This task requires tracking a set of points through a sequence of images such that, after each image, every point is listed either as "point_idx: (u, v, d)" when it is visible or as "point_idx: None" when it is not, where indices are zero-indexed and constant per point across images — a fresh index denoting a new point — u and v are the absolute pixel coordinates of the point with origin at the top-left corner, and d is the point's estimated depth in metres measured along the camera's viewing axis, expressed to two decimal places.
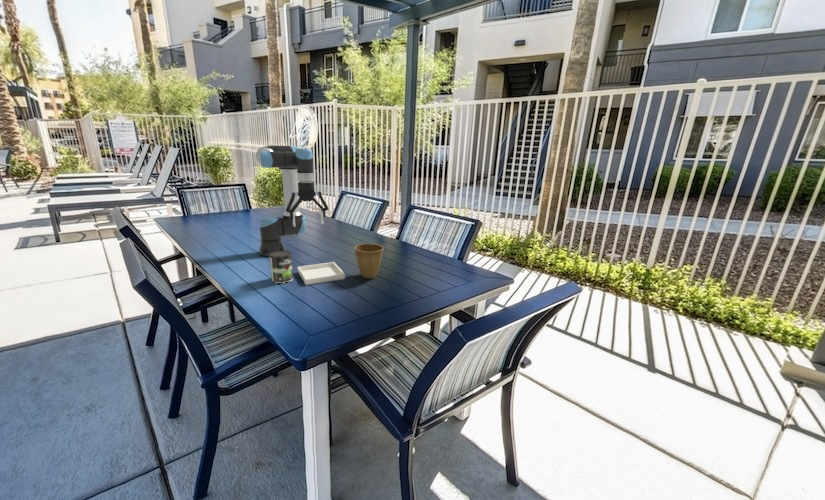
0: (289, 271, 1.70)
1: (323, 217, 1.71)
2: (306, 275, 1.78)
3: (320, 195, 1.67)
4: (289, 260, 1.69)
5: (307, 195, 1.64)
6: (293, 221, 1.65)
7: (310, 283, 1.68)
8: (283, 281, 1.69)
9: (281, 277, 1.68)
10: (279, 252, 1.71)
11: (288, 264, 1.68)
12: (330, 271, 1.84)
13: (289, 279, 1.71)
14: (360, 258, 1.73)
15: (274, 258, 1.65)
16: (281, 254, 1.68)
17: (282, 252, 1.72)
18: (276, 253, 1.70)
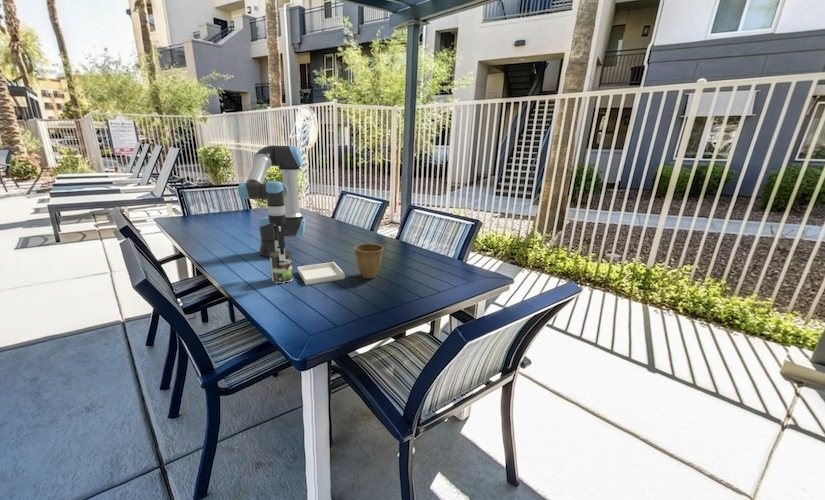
0: (289, 271, 1.70)
1: (280, 254, 1.62)
2: (306, 275, 1.78)
3: (277, 230, 1.59)
4: (289, 260, 1.69)
5: None
6: None
7: (310, 283, 1.68)
8: (283, 281, 1.69)
9: (281, 277, 1.68)
10: None
11: (288, 264, 1.68)
12: (330, 271, 1.84)
13: (289, 279, 1.71)
14: (360, 258, 1.73)
15: (274, 258, 1.65)
16: None
17: None
18: (276, 253, 1.70)
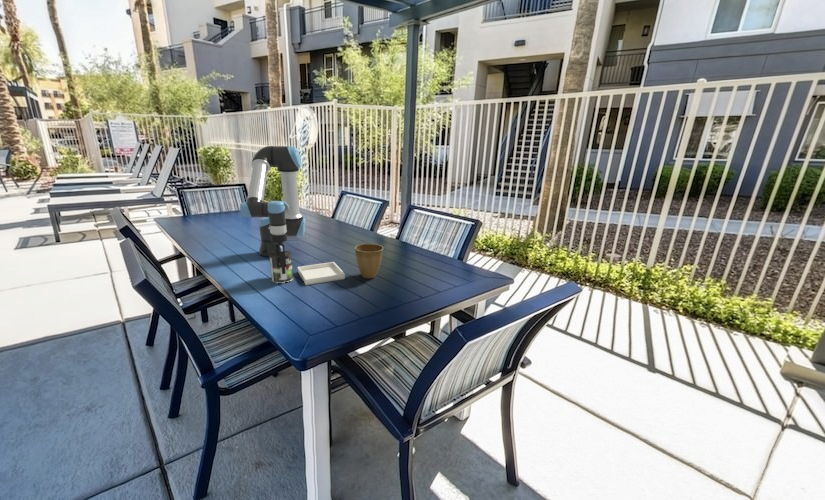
0: (289, 271, 1.70)
1: None
2: (306, 275, 1.78)
3: (279, 251, 1.62)
4: (289, 260, 1.69)
5: None
6: None
7: (310, 283, 1.68)
8: (283, 281, 1.69)
9: None
10: None
11: (288, 264, 1.68)
12: (330, 271, 1.84)
13: (289, 279, 1.71)
14: (360, 258, 1.73)
15: (274, 258, 1.65)
16: None
17: None
18: (276, 253, 1.70)
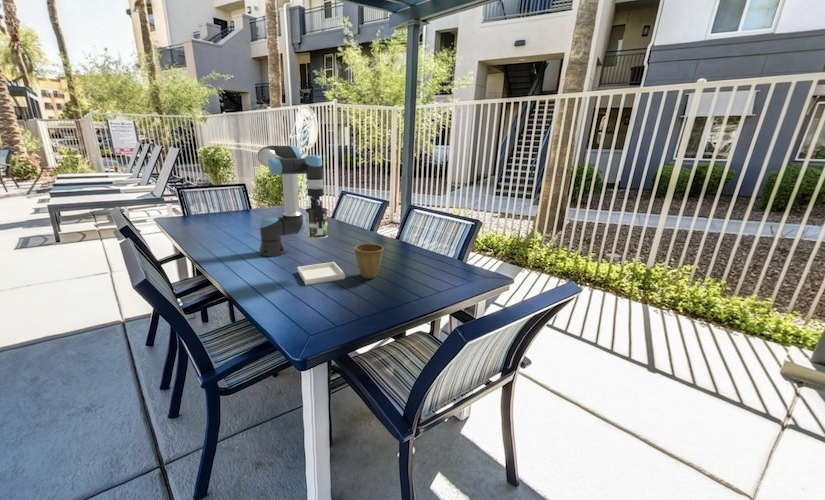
0: (325, 227, 1.70)
1: (318, 228, 1.67)
2: (306, 275, 1.78)
3: (316, 204, 1.63)
4: (325, 215, 1.69)
5: None
6: None
7: (310, 283, 1.68)
8: (319, 236, 1.69)
9: None
10: None
11: (324, 219, 1.69)
12: (330, 271, 1.84)
13: (325, 235, 1.71)
14: (360, 258, 1.73)
15: (311, 212, 1.65)
16: None
17: None
18: (312, 208, 1.71)
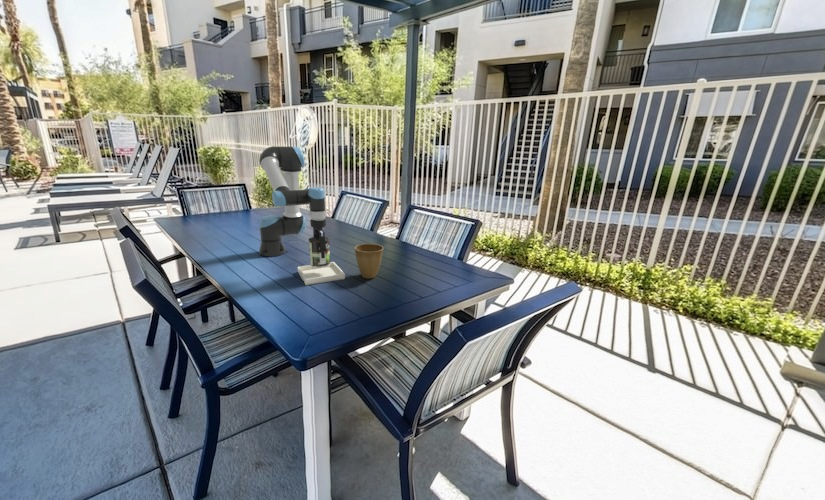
0: (327, 256, 1.75)
1: (321, 258, 1.71)
2: (306, 275, 1.78)
3: (319, 235, 1.68)
4: (328, 245, 1.74)
5: None
6: None
7: (310, 283, 1.68)
8: (322, 265, 1.74)
9: None
10: None
11: (327, 249, 1.74)
12: (330, 271, 1.84)
13: (327, 264, 1.76)
14: (360, 258, 1.73)
15: (314, 243, 1.70)
16: None
17: None
18: (314, 238, 1.75)
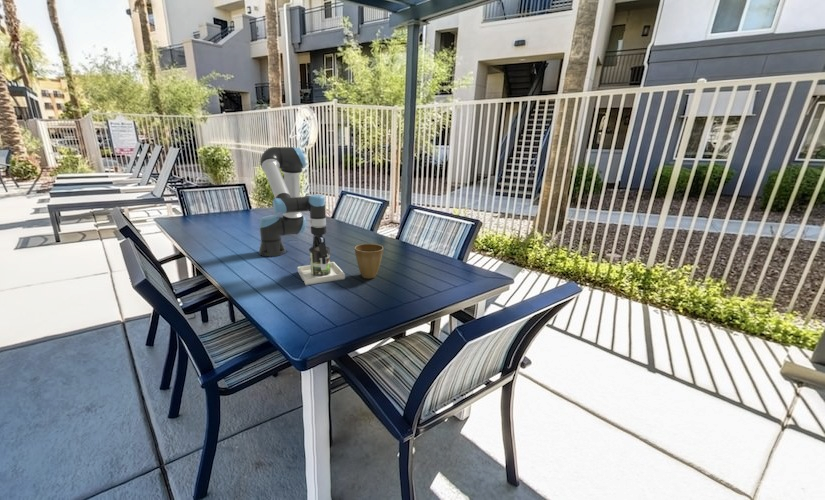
0: (328, 265, 1.77)
1: (322, 263, 1.71)
2: (306, 275, 1.78)
3: (319, 242, 1.68)
4: (328, 255, 1.76)
5: None
6: None
7: (310, 283, 1.68)
8: (322, 275, 1.76)
9: (321, 271, 1.75)
10: (318, 247, 1.78)
11: (327, 259, 1.75)
12: (330, 271, 1.84)
13: (327, 273, 1.78)
14: (360, 258, 1.73)
15: (314, 253, 1.72)
16: None
17: None
18: (315, 248, 1.77)
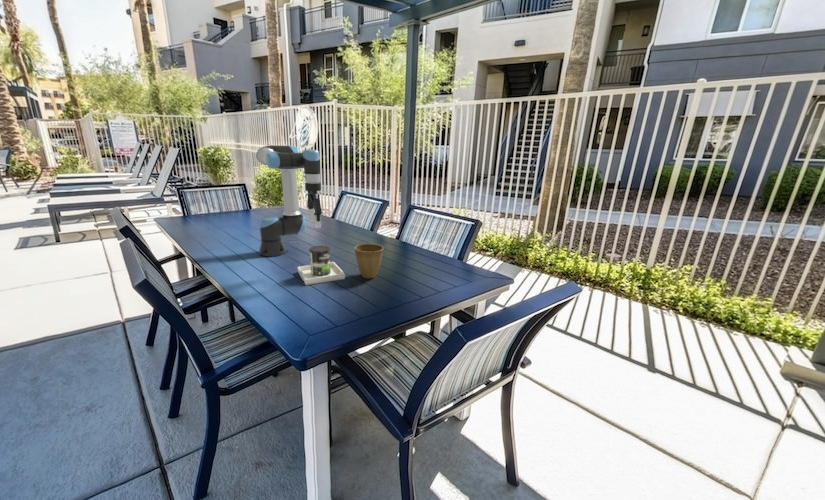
0: (328, 265, 1.77)
1: (316, 221, 1.67)
2: (306, 275, 1.78)
3: (314, 198, 1.64)
4: (328, 255, 1.76)
5: None
6: (309, 216, 1.79)
7: (310, 283, 1.68)
8: (322, 275, 1.76)
9: (321, 271, 1.75)
10: (318, 247, 1.78)
11: (327, 259, 1.75)
12: (330, 271, 1.84)
13: (327, 273, 1.78)
14: (360, 258, 1.73)
15: (314, 253, 1.72)
16: (320, 249, 1.75)
17: (321, 247, 1.79)
18: (315, 248, 1.77)
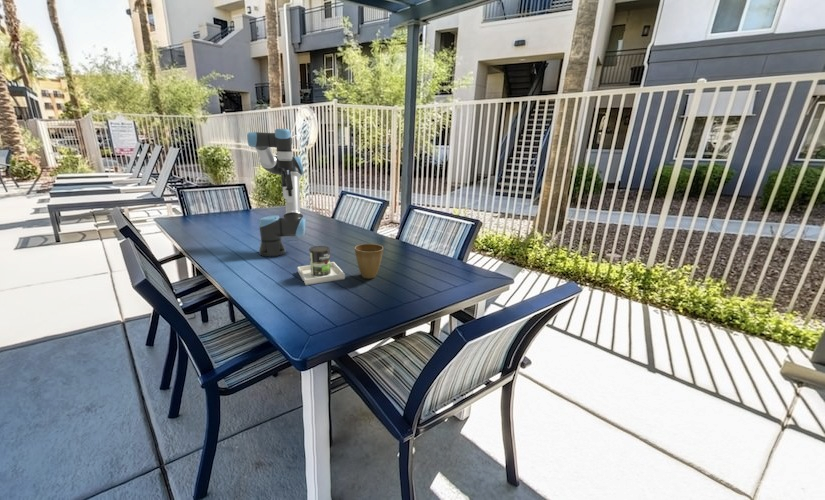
0: (328, 265, 1.77)
1: (288, 196, 1.77)
2: (306, 275, 1.78)
3: (285, 174, 1.75)
4: (328, 255, 1.76)
5: None
6: None
7: (310, 283, 1.68)
8: (322, 275, 1.76)
9: (321, 271, 1.75)
10: (318, 247, 1.78)
11: (327, 259, 1.75)
12: (330, 271, 1.84)
13: (327, 273, 1.78)
14: (360, 258, 1.73)
15: (314, 253, 1.72)
16: (320, 249, 1.75)
17: (321, 247, 1.79)
18: (315, 248, 1.77)
